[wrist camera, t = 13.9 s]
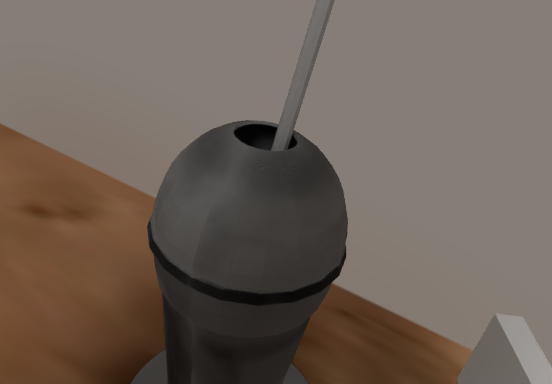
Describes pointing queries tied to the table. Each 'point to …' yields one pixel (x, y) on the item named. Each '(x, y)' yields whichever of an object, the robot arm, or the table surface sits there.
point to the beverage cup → (247, 242)
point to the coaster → (154, 373)
